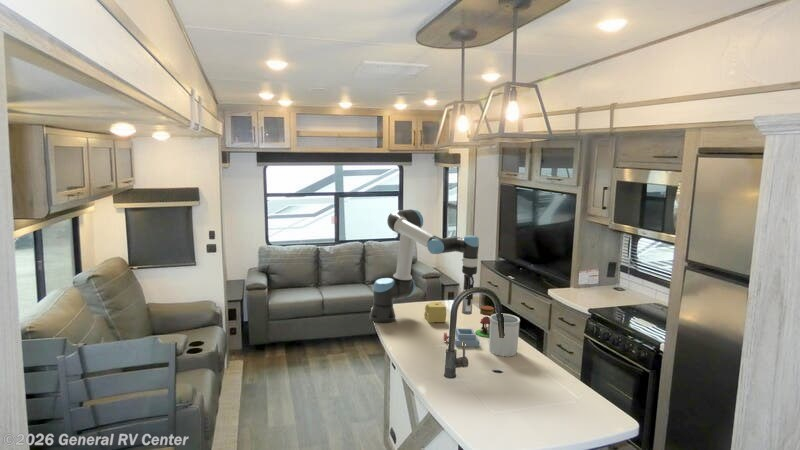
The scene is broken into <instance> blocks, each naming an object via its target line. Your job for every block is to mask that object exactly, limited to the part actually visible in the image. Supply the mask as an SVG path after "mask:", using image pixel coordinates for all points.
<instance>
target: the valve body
mask: <svg viewBox="0 0 800 450" xmlns="http://www.w3.org/2000/svg"><path fill="white" fill-rule="evenodd" d="M455 331H456V339H455V344H454V345H455V347H459V346H462V342H463V341H464V342H465V344H466V346H471V347H470V348H479V347H480V340H479V338H478V336H477V334H476V332H475V330H474V329H473V328H458V327H457V328H455ZM449 336H450V335H448V334H447V332H443V342H444V341H446V342H445V343H447V341H448V340H449V339H448V338H449Z"/></svg>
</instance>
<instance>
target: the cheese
mask: <svg viewBox="0 0 800 450" xmlns="http://www.w3.org/2000/svg"><path fill="white" fill-rule="evenodd" d="M424 311H425V312H424V315H423V316H424V319H425V318H426V319H425V321H427V323H428V322H429V323H428V324H432V323H431V322H445V323H446V319H447V307H446V306H445V305H444V303H443V302H441V301H430V303H426V305H425V307H424Z"/></svg>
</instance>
